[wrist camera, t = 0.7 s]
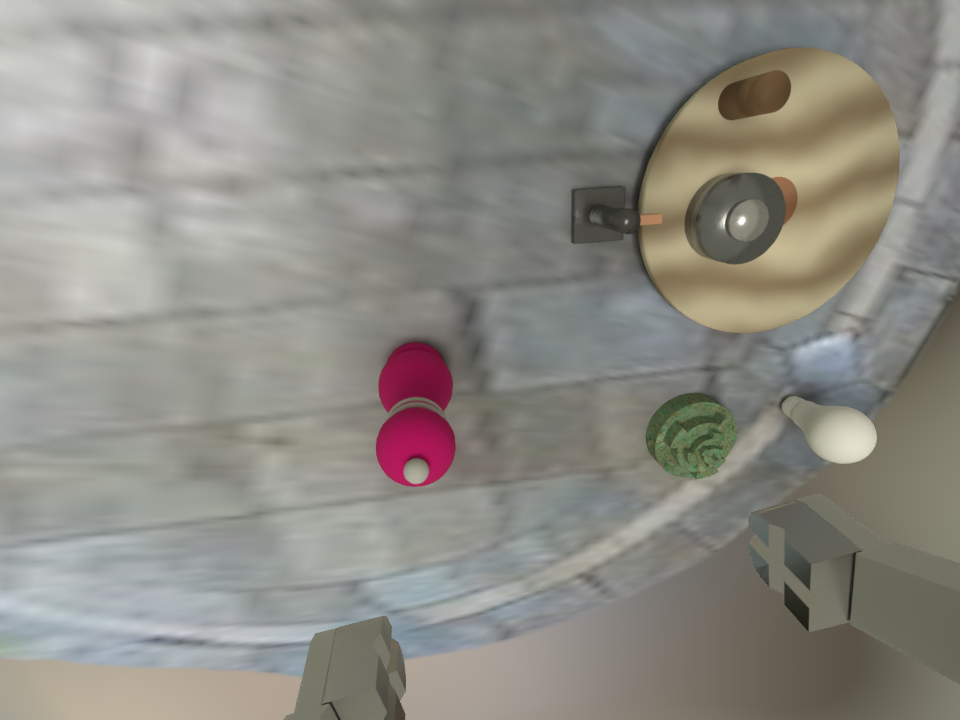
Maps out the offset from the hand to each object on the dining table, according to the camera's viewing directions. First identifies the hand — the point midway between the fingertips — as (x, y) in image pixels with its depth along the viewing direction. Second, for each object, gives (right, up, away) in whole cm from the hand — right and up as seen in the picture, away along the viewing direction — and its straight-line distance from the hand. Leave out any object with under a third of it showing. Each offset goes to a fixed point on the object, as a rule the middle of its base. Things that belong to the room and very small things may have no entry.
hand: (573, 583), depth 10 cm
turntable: (+26, +20, +37) cm, 50 cm away
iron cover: (+22, +19, +36) cm, 46 cm away
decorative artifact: (+23, -4, +48) cm, 54 cm away
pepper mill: (-9, +4, +41) cm, 42 cm away
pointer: (+10, +19, +37) cm, 43 cm away
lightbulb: (+36, 0, +48) cm, 60 cm away
